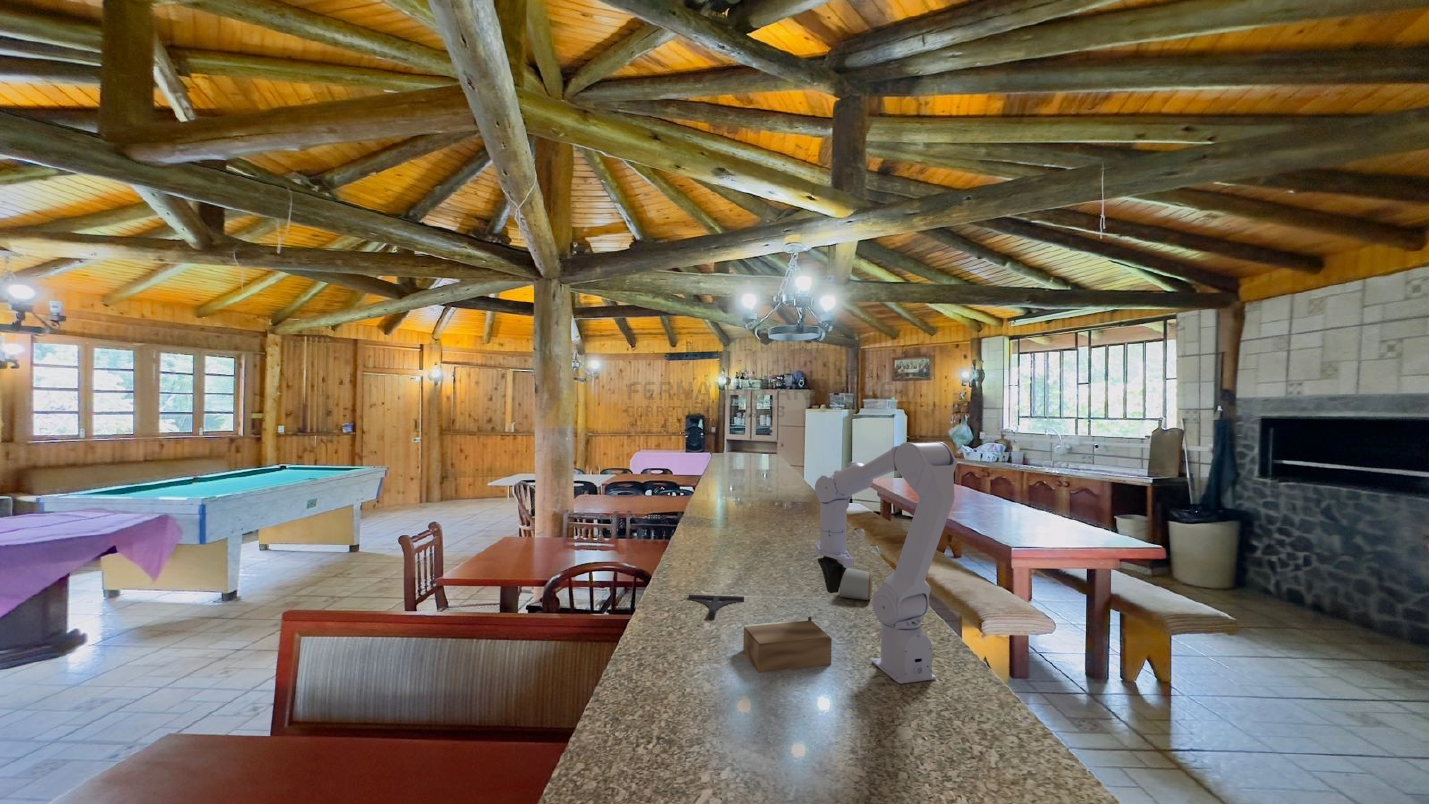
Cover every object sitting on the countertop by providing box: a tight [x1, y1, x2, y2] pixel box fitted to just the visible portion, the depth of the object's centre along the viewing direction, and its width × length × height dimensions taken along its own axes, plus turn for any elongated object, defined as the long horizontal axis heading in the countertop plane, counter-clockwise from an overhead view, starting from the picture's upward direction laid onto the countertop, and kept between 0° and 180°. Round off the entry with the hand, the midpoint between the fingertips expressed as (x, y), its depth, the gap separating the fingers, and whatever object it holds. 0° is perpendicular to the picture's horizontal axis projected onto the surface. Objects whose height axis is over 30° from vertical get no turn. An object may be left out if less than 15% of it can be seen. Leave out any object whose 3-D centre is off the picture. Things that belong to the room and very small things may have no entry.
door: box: [743, 618, 808, 629], centre depth 116 cm, size 14×2×5 cm, turn 105°
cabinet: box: [742, 616, 833, 674], centre depth 111 cm, size 10×15×6 cm, turn 106°
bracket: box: [688, 594, 745, 621], centre depth 138 cm, size 14×15×3 cm
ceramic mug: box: [838, 567, 873, 601], centre depth 149 cm, size 11×8×8 cm
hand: (832, 591), depth 123 cm, fingers closed
